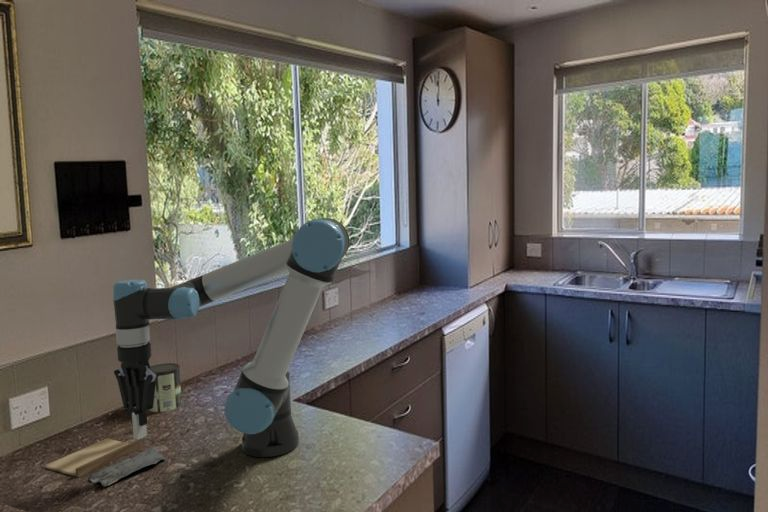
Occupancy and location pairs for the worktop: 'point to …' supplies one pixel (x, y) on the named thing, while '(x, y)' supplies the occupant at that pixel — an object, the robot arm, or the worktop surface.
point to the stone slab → (126, 467)
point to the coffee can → (167, 387)
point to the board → (92, 457)
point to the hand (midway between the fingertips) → (140, 437)
